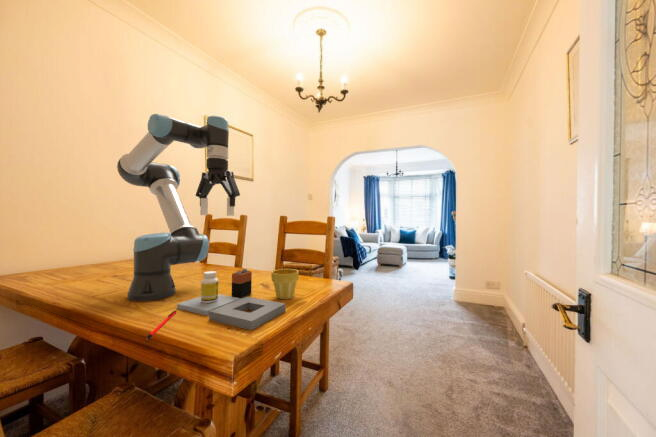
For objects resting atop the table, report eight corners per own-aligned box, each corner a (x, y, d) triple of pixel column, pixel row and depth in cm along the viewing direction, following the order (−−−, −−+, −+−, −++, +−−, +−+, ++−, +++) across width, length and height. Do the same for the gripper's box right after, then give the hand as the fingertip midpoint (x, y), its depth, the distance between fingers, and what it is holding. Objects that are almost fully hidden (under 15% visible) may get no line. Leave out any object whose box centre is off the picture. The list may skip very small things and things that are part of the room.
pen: (177, 312, 84) (177, 309, 84) (148, 340, 65) (148, 336, 65) (174, 312, 83) (174, 309, 83) (144, 340, 65) (144, 336, 65)
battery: (251, 294, 103) (252, 268, 103) (240, 299, 97) (240, 272, 97) (242, 293, 105) (243, 267, 105) (230, 297, 98) (231, 271, 98)
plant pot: (266, 295, 102) (266, 270, 102) (289, 291, 108) (290, 267, 108) (279, 302, 94) (279, 275, 94) (303, 297, 100) (303, 271, 100)
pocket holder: (209, 319, 78) (209, 311, 77) (247, 303, 92) (247, 296, 92) (251, 330, 71) (251, 321, 71) (285, 311, 85) (285, 303, 85)
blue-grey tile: (177, 308, 86) (177, 303, 86) (211, 296, 99) (211, 292, 99) (207, 315, 81) (207, 310, 81) (240, 302, 93) (240, 298, 93)
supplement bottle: (219, 301, 89) (219, 272, 89) (201, 304, 86) (202, 274, 86) (216, 297, 94) (216, 270, 94) (199, 299, 91) (200, 271, 91)
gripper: (185, 159, 101) (185, 214, 101) (235, 154, 91) (234, 215, 91) (202, 163, 108) (202, 215, 108) (250, 158, 97) (249, 215, 98)
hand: (216, 215), depth 99 cm, fingers open, 13 cm apart
